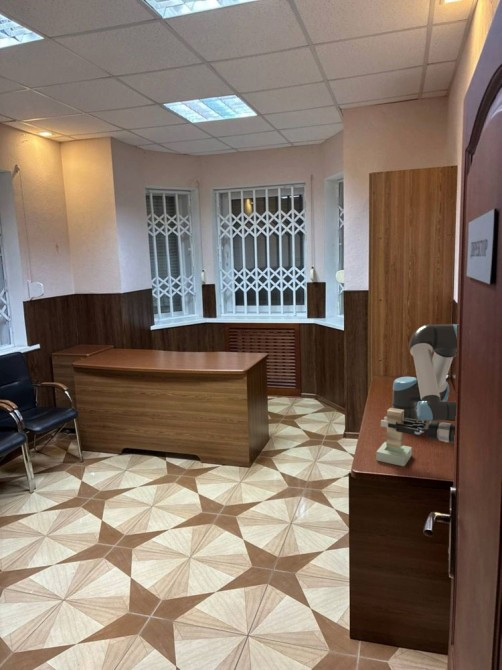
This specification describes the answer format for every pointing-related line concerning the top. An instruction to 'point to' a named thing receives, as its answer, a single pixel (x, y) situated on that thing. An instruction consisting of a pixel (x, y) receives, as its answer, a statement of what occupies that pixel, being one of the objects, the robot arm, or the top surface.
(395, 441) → the wooden block
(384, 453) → the end cap
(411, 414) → the robot arm
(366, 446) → the top surface
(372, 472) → the top surface
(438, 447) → the top surface
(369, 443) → the top surface
